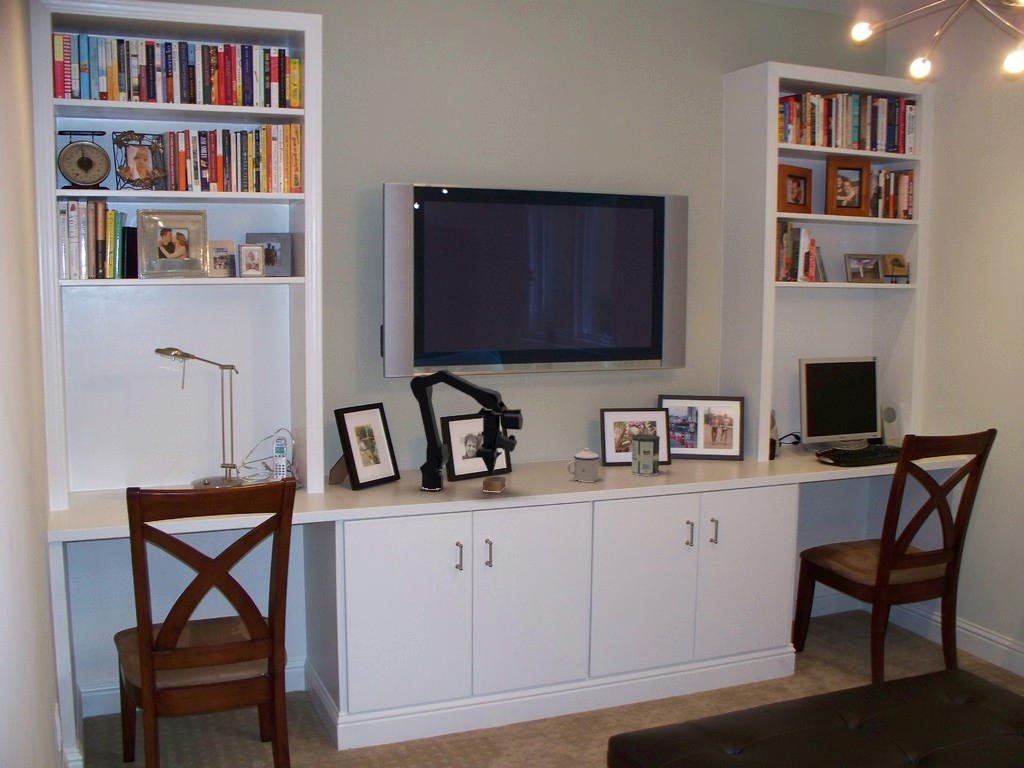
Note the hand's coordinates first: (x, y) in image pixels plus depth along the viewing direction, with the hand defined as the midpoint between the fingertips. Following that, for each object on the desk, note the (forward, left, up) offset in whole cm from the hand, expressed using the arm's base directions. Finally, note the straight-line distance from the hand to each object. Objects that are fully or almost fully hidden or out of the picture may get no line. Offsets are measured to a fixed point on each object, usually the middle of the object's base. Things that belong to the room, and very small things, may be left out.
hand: (491, 474), depth 313 cm
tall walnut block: (0, 0, -5) cm, 5 cm away
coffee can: (+48, +46, -7) cm, 67 cm away
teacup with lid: (+27, +28, -7) cm, 40 cm away
